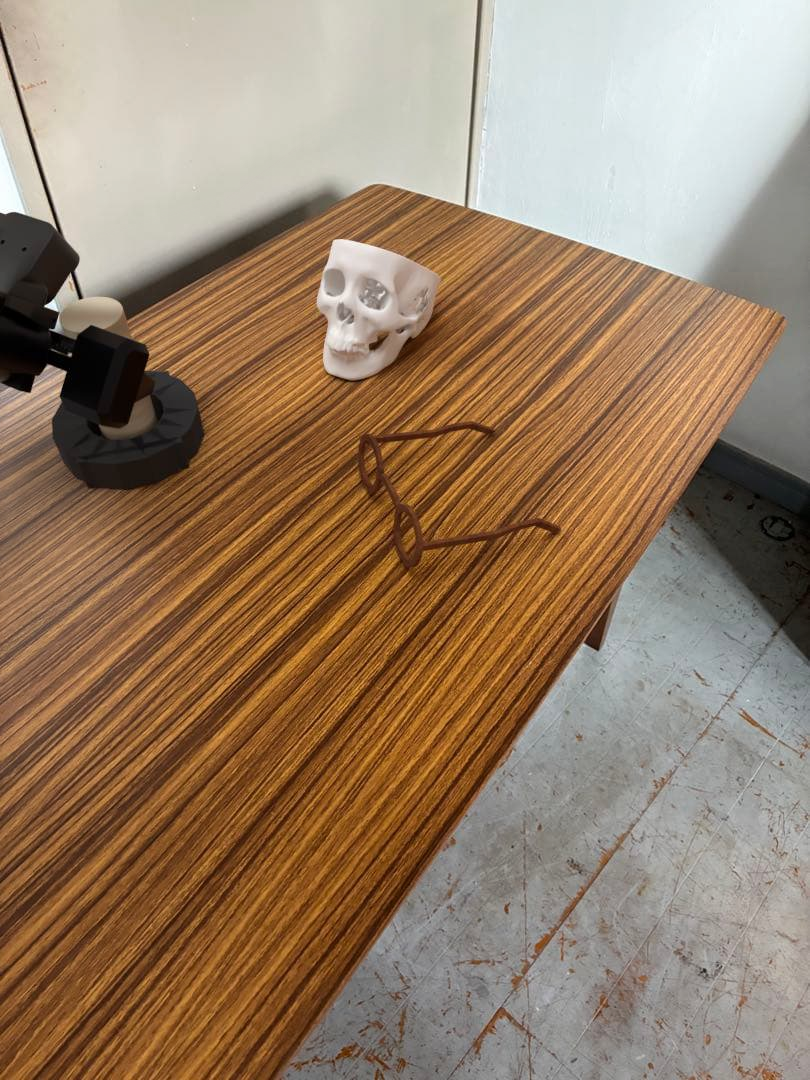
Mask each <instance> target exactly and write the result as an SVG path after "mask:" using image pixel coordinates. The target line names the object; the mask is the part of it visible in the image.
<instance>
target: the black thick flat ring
mask: <svg viewBox="0 0 810 1080" xmlns="http://www.w3.org/2000/svg"><path fill="white" fill-rule="evenodd" d="M144 372H145V373H146V374H147V375H148V376H150V377H151V378H152V379H154V380H155V386H154V389H153V392H152V394H150V398H151V401H152V404H153V408H154V411H155V414H156V417H157V420H159V421H158V423H157V424H156V425H155V426H154V427H153V428H152V429H151V430H149V431H147V432H145V433H143V434H141V435H139V436H137V437H134V438H129V439H124V440H112V439H105V438H103V436H101V435H102V432H101V430H100V427H99V425H98V424H96V423H94V422H92V421H89V420H87V419H84V418H82V417H80V416H77V415H75V414H72V413H70V412H68V411H65V408H64V406H63V403H62V401H61V402H60V404H59V406H58V408H57V409H56V411H55V413H54V415H53V417H52V418H51V431H52V434H51V435H52V439H53V442H54V444H55V446H56V449H57V451H58V453H59V455H60V457H61V459H62V462H63V464H64V465H65V467H66V468H67V469H68V470H69V471H70V473H71V474H72V475H73V476H74V477H75V478H76V480H79V481H81V482H83V483H85V484H86V487H87V489H92V488H100V489H115V490H128V489H129V490H130V489H134V488H138V487H144V486H148V485H153V484H157V483H159V482H160V481H163V480H165V479H166V478H169V477H170V476H172V475H174V474H176V473H179V472H180V471H181V470H182V469H188V468H190V463H189V462H190V461H191V460H192V459H193V458H194V457H195V456H196V455H197V454H198V453H199V450H200V447H201V444H202V442H203V439H204V436H205V430H204V426H203V423H202V417H201V414H200V413H201V412H200V410H199V406H198V402H197V397H196V394H195V392H194V390H193V389H191V388H190V387H189V386H188V385H187V384H186V383H185V382H184V381H183V380H182V379H180V378H178V377H175V376H173V375H170V371H169V370H163V371H157V370H145V371H144Z"/></svg>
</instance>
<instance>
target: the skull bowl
mask: <svg viewBox="0 0 810 1080" xmlns="http://www.w3.org/2000/svg"><path fill="white" fill-rule="evenodd" d="M441 281H442V279H441V277H440V275H438V274H437V273H436V272H434V271H432V270H431V269H429V268H427V267H426V266H423V265H421V264H419V263H417V262H416V261H414V260H412V259H409V258H407V257H405V256H403V255H400V254H398V253H395V252H393V251H391V250H388V249H384V248H381V247H378V246H374V245H371V244H367V243H362V242H358V241H354V240H350V239H342V238H339V239H333V240H332V244H331V247H330V251H329V256H328V259H327V263H326V265H325V266H324V268H323V271H322V275H321V281H320V285H319V290H318V293H317V297H316V307H317V310H318V311H319V312H320V313H321V314H323V315H324V316H325V317H326V320H327V328H326V334H325V339H324V344H323V350H322V362H323V368H324V370H325V371H326V372H327V373H328V374H329V375H330V376H335V377H338V378H341V379H342V380H343V379H344V380H347V381H359V380H363V379H367V378H370V377H372V376H375V375H377V374H378V373H379V372H382V370H384V369H385V368H386V367H388V366H390V365H391V364H392V363H393V362H395V360H396V359H397V357H398V355H399V354H400V351H401V350H402V348H403V346H404V345H405V343H406V342H407V341H408V339H409V338H410V339H415V338H416V337H418V335H420V334H421V332H422V331H423V330H424V329H425V328H426V326H427V325H428V323H429V321H430V319H431V317H432V314H433V311H434V307H435V301H436V296H437V293H438V290H439V287H440V285H441ZM402 330H403V331H402ZM383 333H388V335H387V336H386V337H385V339H384V340H383V341H382V343H381V344H380V345H379V347H377V348H376V349H370V344H373V343H377V342H378V336H379V335H380V334H383Z"/></svg>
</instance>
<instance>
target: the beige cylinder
mask: <svg viewBox="0 0 810 1080" xmlns="http://www.w3.org/2000/svg"><path fill="white" fill-rule="evenodd" d="M124 310H125V309H124V307H123V305H122V304H121V303H120V302H119V301H118V300H116V299H115V298H112V297H107V296H90V297H84V298H81V299H78V300H76V301H74V302H72V303H70V304H68V305H67V306H65V308H64V309H62V311H61V312H60V313H59V316H58V321H59V325H60V327H61V331H62V334H63V335H65V336H68V337H71V338H73V339H77V335H78V334H79V333H81V332H82V331H83V330H85V329H86V328H87V327H89V326H90V325H93V326H96V327H99V328H102V329H104V330H107V331H110V332H113V333H116V334H118V335H121V336H124V337H127V338H129V339H132V340H134V339H133V337H132V333H131V330H130V327H129V322H128V320H127V317H126V313H125V311H124ZM70 354H71V355H72V353H70ZM157 423H159V421H158V419H157V417H156V414H155V411H154V408H153V404H152V401H151V398H150V395H149V396H147V397H145V398H143V399H141V400H139V401H137V402H136V403H135V404H134V407H133V410H132V413H131V416H130V420H129V423H128V424H127V425H126V426H124V427H122V428H121V429H117V428H111V427H106V426H101V425H99V424H98V425H99V427H100V430H101V432H102V433H101V435H102V438H105V439H112V440H124V439H129V438H134V437H137V436H139V435H141V434H143V433H145V432H147V431H149V430H151V429H152V428H153V427H154V426H155V425H156V424H157Z"/></svg>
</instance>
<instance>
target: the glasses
mask: <svg viewBox="0 0 810 1080" xmlns="http://www.w3.org/2000/svg"><path fill="white" fill-rule="evenodd" d="M463 430H473V431H474V432H475V431H476V432H479V433H481V434H484V435H488V436H493V435H494V434H495V433H496V429H495V427H491V426H488V425H486V424H485V425H484V424H482V423H479V422H476V421H473V420H469V421H462V422H455V423H450V424H446V425H443V426H440V427H437V428H432V429H423V430H415V431H414V430H413V431H403V432H395V433H386V434H376V435H373V434H372V433H363V434H362V435H361V437H360V440H359V443H358V449H357V462H358V464H357V465H358V470H359V474H360V479H361V481H362V483H363V485H364V487H365V489H366V490H367V492H369V494H370V493H371V494H375V493H378V492H379V491H380V489H381V486H382V484H383V486H384V489H385V490H386V492H387V493H388V496H389V497H390V500H391V501H392V504H393V508H394V510H395V511H394V515H393V517H394V518H393V525H392V526H393V527H392V528H393V530H392V531H393V540H394V544H395V548H396V551H397V553H398V557H399V558H400V560H401V562H402V563H403V564H404V566H406V568H409V569H411V568H412V569H413V568H416V567H418V566H419V564H420V563H421V560H422V557H423V552H427V551H431V550H432V551H433V550H439V549H444V548H451V547H457V546H462V545H468V544H474V543H480V542H486V541H492V540H496V539H499V538H501V537H504V536H507V535H509V534H511V533H514V532H517V531H522V530H524V529H529V528H532V527H537V528H540V529H542V530H545V531H546V532H547V531H548V532H550V533H553V534H558V533H559V532H561V531H562V528H561V526H560V525H559V524H555V523H552V522H550V521H547V520H545V519H543V518H540V517H537V518H533V519H526V520H520V521H516V522H513V523H512V524H508V525H505V526H504V527H501V528H498V529H495V530H490V531H483V532H477V533H471V534H466V535H459V536H452V537H447V538H440V539H434V540H426V541H424V535H423V530H422V526H421V523H420V520H419V517H418V514H417V512H415V510H414V508H413V507H412V505H410V504H409V503H405V502H404V503H403V502H402V503H401V500H400V497H399V494H398V492H397V490H396V488H395V487H394V484H393V483H392V481H391V479H390V477H389V475H387V474H385V465H384V459H383V454H382V450H381V448H380V445H379V444H385V443H393V442H394V443H395V442H403V441H414V440H421V439H423V440H424V439H430V438H436V437H440V436H442V435H445V434H449V433H452V432H459V431H463ZM367 445H370V446H371V448H372V450H373V453H374V457H375V463H376V475H375V480H374V483H372V482H371V480H370V478H369V476H368V473H367V469H366V464H365V463H366V462H365V452H366V448H367V447H366V446H367ZM404 513H405V514H406V516H407V517H408V518H409V520H410V522H411V525H412V529H413V531H414V538H415V539H414V540H415V548H414V553H413V556H412V558H411V557H410V556H409V555H408V554H407V552H406V549H405V546H404V544H403V540H402V535H401V524H402V518H403V515H404Z"/></svg>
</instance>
